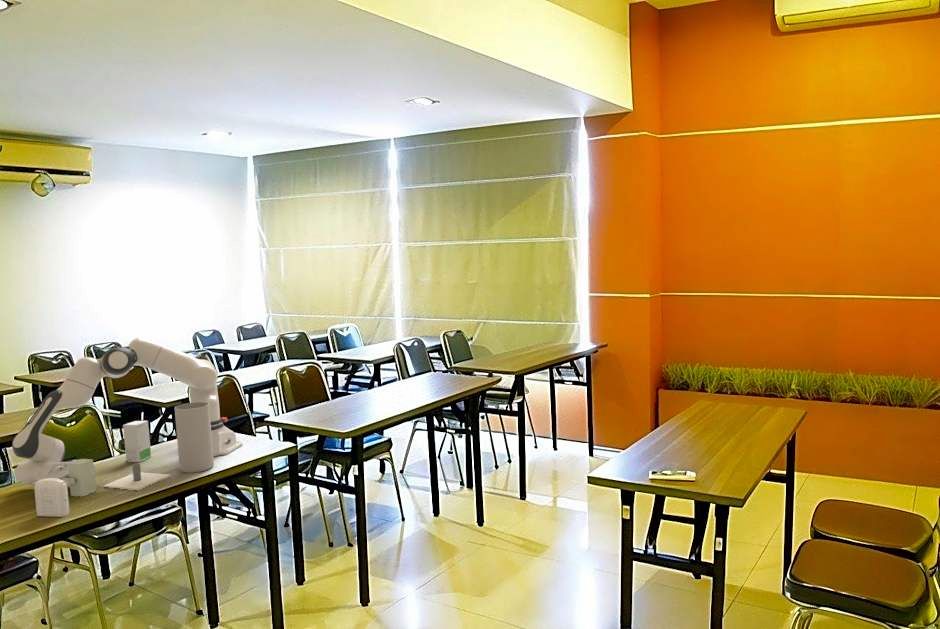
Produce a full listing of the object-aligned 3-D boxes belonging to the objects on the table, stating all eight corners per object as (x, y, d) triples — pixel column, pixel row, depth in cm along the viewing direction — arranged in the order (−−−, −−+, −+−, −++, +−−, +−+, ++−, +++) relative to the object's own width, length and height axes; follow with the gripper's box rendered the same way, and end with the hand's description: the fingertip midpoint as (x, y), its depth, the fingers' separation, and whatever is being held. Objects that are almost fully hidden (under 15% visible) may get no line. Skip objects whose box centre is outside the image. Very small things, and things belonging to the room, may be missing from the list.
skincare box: (139, 462, 295) (135, 425, 294) (124, 462, 297) (121, 425, 295) (152, 456, 304) (148, 420, 302) (138, 456, 305) (134, 420, 303)
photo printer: (72, 512, 240) (68, 476, 239) (63, 517, 236) (59, 480, 235) (44, 512, 242) (40, 476, 241) (34, 517, 238) (30, 480, 236)
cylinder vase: (174, 474, 278) (169, 410, 275) (187, 464, 290) (182, 402, 288) (207, 472, 278) (201, 408, 275) (218, 463, 290) (213, 401, 288)
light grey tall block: (84, 490, 263) (81, 458, 262) (95, 491, 261) (92, 459, 260) (70, 495, 258) (67, 463, 257) (82, 497, 256) (79, 464, 255)
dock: (137, 473, 280) (135, 455, 279) (170, 476, 275) (168, 457, 274) (103, 487, 265) (101, 468, 264) (138, 490, 260) (136, 471, 259)
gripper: (27, 475, 253) (57, 478, 248) (77, 458, 272) (105, 460, 268) (29, 493, 254) (59, 496, 249) (79, 474, 273) (107, 477, 268)
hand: (83, 477), depth 258 cm, fingers open, 6 cm apart
